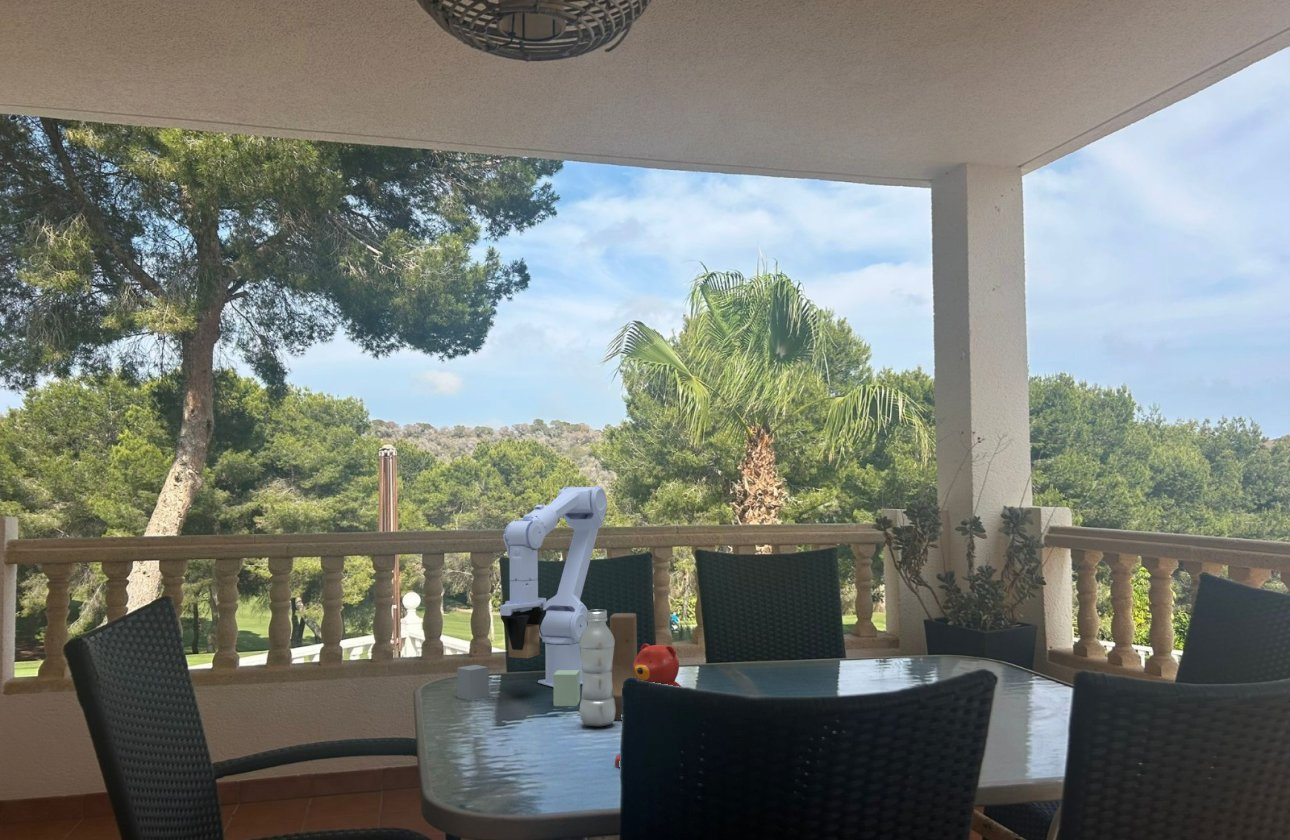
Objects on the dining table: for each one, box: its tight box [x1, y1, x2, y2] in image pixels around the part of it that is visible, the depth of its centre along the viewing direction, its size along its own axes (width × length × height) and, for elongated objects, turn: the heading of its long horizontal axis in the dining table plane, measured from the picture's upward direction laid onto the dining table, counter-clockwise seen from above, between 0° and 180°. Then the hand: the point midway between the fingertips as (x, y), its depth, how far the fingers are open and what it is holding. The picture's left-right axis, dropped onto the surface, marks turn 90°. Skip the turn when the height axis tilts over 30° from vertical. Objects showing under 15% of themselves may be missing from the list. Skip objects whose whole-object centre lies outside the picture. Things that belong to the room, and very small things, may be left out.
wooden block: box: [609, 612, 638, 721], centre depth 173 cm, size 9×4×18 cm, turn 173°
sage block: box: [552, 670, 581, 707], centre depth 183 cm, size 4×4×6 cm
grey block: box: [456, 664, 490, 702], centre depth 190 cm, size 4×4×6 cm
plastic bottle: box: [579, 609, 616, 728], centre depth 165 cm, size 6×7×20 cm
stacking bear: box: [614, 643, 682, 768], centre depth 140 cm, size 11×10×18 cm
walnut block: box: [508, 624, 540, 659], centre depth 189 cm, size 4×4×6 cm
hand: (524, 647), depth 189 cm, fingers closed on walnut block, 4 cm apart
